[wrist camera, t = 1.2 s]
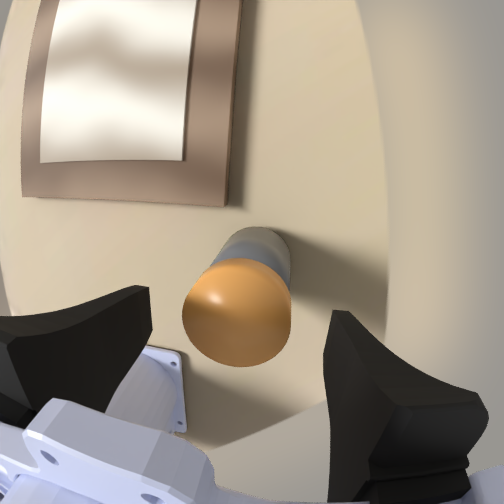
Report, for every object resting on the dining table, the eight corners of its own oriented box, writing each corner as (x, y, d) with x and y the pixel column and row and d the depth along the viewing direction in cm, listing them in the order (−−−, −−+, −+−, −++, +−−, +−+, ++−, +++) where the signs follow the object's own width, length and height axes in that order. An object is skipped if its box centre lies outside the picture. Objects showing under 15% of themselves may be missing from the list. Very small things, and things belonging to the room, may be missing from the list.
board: (227, 203, 19) (223, 207, 18) (30, 194, 20) (20, 197, 19) (248, -56, 13) (246, -66, 12) (53, -14, 14) (44, -18, 13)
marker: (288, 290, 20) (283, 372, 12) (222, 283, 20) (184, 358, 13) (295, 225, 19) (297, 279, 11) (225, 218, 19) (181, 266, 12)
